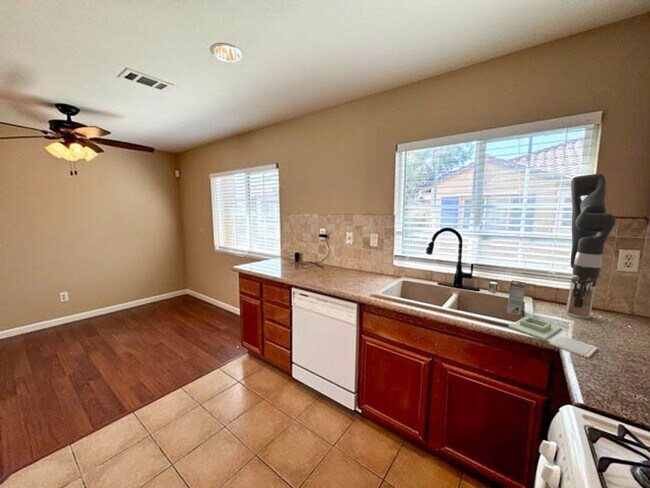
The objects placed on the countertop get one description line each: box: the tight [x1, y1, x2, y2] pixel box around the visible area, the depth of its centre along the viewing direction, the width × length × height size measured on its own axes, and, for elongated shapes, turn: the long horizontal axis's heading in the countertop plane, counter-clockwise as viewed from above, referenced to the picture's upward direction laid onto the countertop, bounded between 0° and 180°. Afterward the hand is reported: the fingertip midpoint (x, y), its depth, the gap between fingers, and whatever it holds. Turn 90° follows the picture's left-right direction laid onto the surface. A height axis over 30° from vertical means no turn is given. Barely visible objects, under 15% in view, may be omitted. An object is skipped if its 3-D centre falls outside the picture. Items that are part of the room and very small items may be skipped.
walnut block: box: [568, 288, 593, 317], centre depth 106 cm, size 5×5×10 cm
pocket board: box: [507, 315, 563, 341], centre depth 124 cm, size 20×14×3 cm
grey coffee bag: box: [506, 279, 526, 316], centre depth 142 cm, size 9×6×16 cm
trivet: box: [548, 334, 598, 359], centre depth 109 cm, size 12×12×1 cm
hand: (579, 305), depth 106 cm, fingers closed on walnut block, 5 cm apart
